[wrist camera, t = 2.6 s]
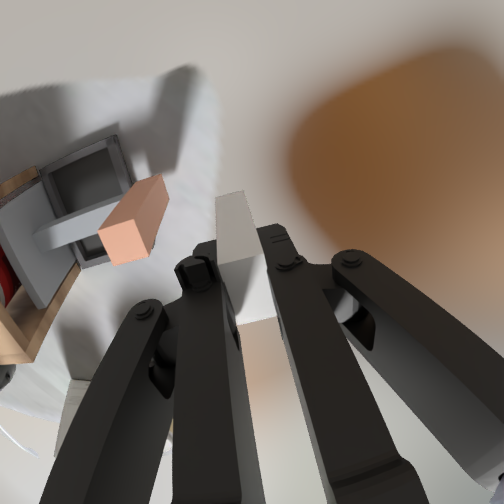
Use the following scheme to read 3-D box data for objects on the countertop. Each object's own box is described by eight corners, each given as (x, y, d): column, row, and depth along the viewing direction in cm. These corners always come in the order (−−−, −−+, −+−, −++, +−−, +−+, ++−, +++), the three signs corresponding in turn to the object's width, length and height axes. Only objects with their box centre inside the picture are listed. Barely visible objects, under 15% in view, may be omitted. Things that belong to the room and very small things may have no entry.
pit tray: (86, 263, 29) (82, 269, 28) (44, 167, 23) (39, 170, 22) (154, 243, 30) (152, 249, 28) (116, 134, 23) (112, 135, 22)
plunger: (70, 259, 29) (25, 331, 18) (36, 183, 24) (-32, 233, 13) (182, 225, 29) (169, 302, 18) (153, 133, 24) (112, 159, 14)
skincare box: (70, 377, 39) (50, 454, 26) (103, 381, 40) (87, 463, 26) (87, 403, 43) (74, 473, 30) (118, 406, 44) (109, 480, 30)
